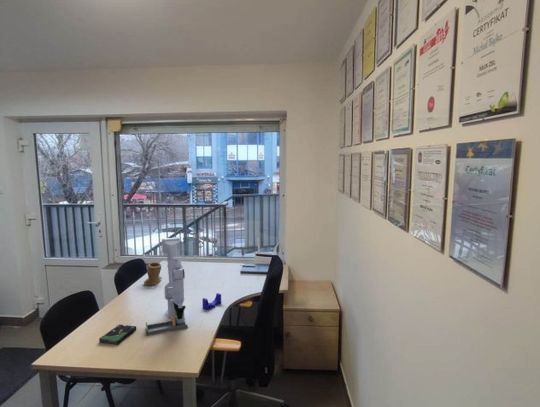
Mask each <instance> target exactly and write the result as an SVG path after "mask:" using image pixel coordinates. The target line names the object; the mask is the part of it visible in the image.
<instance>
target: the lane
mask: <svg viewBox="0 0 540 407" xmlns="http://www.w3.org/2000/svg"><path fill="white" fill-rule="evenodd" d="M188 328H189V326H188V323H187V321H186V320H185V324H183V325H178V326H176V325H175V326H173V325H172V320H167V321H161V322H156V323H150V324H148V322H147V321H146V322H145V328H144V329H145V330H144V331H145V336H146V337H147V336H154V335H157V334H164V333H169V332H174V331H179V330H184V329H188Z"/></svg>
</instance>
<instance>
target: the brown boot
mask: <svg viewBox="0 0 540 407" xmlns="http://www.w3.org/2000/svg"><path fill="white" fill-rule="evenodd" d="M161 270H162V264H161V263H160V262H157V261H153V262H150V263H148V265H147V270H146V271H147V272H146V273H147V276H148V278H147V279H146V280H144V282H143V284H144V285H147V286H152V285H154V286H155V285H156V284H158V283H159V282H160V281H161V280H162V278H163V277H161V276H160V273H161Z"/></svg>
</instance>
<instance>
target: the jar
mask: <svg viewBox="0 0 540 407" xmlns="http://www.w3.org/2000/svg"><path fill="white" fill-rule="evenodd" d="M174 317H175V325H176V326H178V325H183V324H185V321H186V318H185V312H183V317H182V319H178V318H177V313H176V310H175V311H174Z"/></svg>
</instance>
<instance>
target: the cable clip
mask: <svg viewBox="0 0 540 407" xmlns="http://www.w3.org/2000/svg"><path fill="white" fill-rule="evenodd" d="M201 300H202V309H203V310H206V311H208V310H212V309H214V308H216V306H218V305H221V304H222V294H221V293H219V292H218V293H216V294H215V297H214V300H212V301H211V302H209V301H208V298H205V297H204V298H202V299H201ZM215 305H216V306H215ZM211 308H212V309H211Z"/></svg>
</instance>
